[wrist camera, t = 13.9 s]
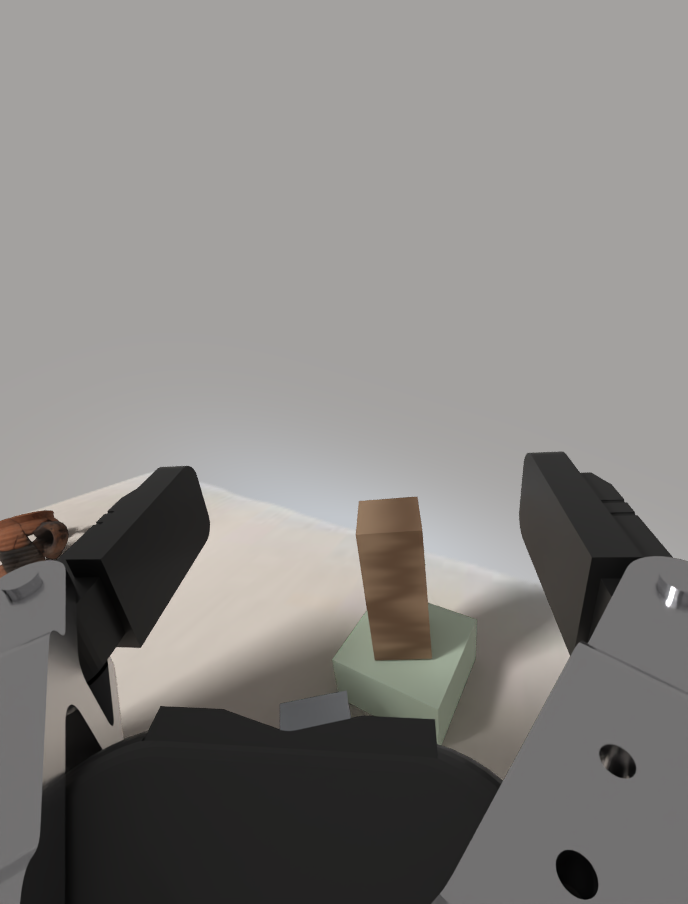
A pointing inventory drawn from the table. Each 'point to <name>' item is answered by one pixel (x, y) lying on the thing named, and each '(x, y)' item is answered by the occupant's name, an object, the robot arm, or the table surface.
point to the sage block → (410, 672)
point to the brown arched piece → (17, 550)
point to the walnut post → (394, 578)
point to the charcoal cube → (314, 711)
